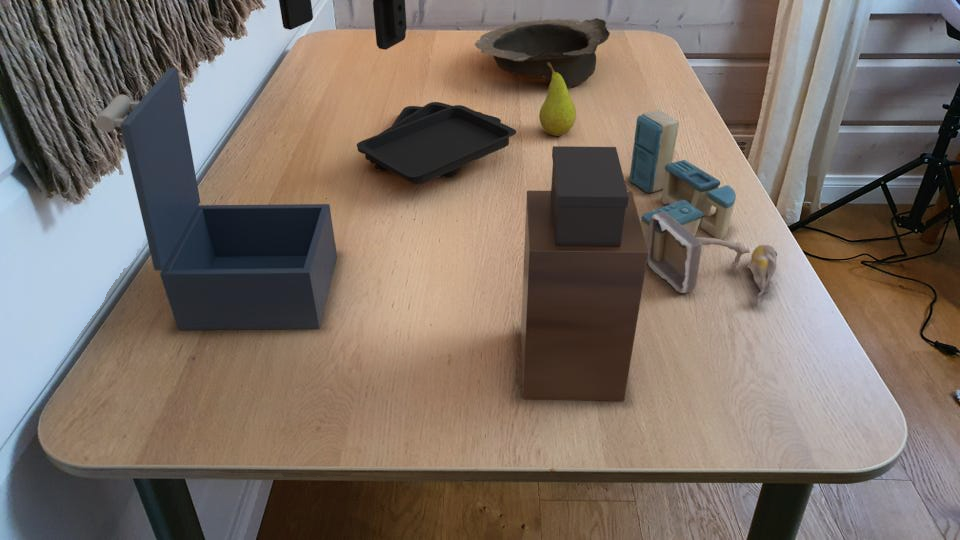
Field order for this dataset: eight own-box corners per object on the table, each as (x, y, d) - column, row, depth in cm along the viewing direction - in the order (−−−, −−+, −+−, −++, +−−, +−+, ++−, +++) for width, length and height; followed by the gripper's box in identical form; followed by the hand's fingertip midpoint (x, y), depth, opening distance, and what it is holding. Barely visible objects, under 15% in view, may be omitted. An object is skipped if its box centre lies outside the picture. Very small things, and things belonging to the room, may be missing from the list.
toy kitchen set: (568, 201, 103) (573, 131, 96) (647, 174, 108) (657, 107, 102) (654, 266, 90) (666, 192, 84) (739, 233, 96) (757, 161, 90)
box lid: (176, 67, 77) (126, 64, 77) (128, 124, 66) (69, 121, 66) (200, 201, 87) (155, 199, 87) (162, 270, 76) (110, 268, 76)
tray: (378, 115, 125) (375, 86, 122) (514, 116, 124) (515, 87, 121) (346, 209, 101) (342, 176, 98) (515, 211, 100) (516, 178, 97)
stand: (624, 401, 72) (648, 252, 62) (522, 399, 73) (529, 250, 62) (612, 333, 80) (632, 191, 70) (521, 332, 81) (526, 190, 70)
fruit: (581, 137, 118) (587, 65, 111) (550, 145, 116) (554, 72, 109) (561, 123, 122) (566, 53, 115) (531, 131, 120) (534, 59, 113)
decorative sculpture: (770, 258, 91) (785, 208, 87) (797, 309, 84) (815, 257, 79) (640, 258, 91) (649, 208, 87) (656, 309, 84) (666, 257, 79)
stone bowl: (622, 95, 131) (624, 44, 125) (482, 110, 130) (478, 59, 125) (595, 44, 150) (596, -2, 144) (474, 57, 150) (470, 11, 144)
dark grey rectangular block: (622, 247, 62) (629, 196, 59) (554, 246, 62) (558, 195, 59) (610, 194, 69) (616, 146, 66) (549, 193, 69) (552, 146, 66)
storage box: (337, 256, 92) (329, 203, 87) (319, 328, 81) (309, 272, 77) (212, 258, 92) (198, 205, 87) (178, 330, 81) (159, 274, 76)
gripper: (185, -211, 52) (234, 30, 62) (386, -202, 45) (404, 68, 55) (259, -218, 57) (293, 6, 67) (450, -210, 50) (455, 38, 61)
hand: (343, 34), depth 61 cm, fingers open, 9 cm apart
